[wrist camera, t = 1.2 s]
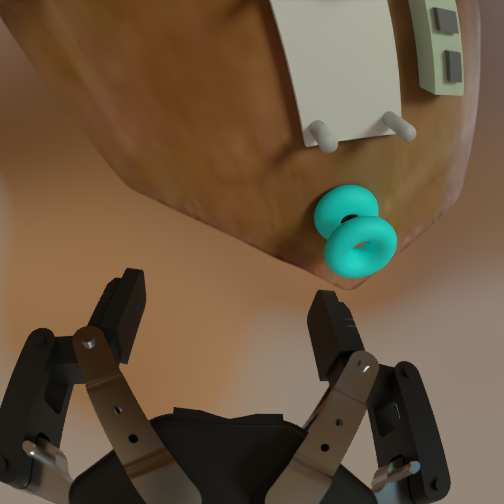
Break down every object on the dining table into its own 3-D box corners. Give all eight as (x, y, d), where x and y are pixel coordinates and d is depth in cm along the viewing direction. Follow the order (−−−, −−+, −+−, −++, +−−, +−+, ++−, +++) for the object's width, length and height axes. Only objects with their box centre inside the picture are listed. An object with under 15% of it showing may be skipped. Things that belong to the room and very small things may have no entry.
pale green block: (404, -12, 16) (425, -13, 13) (435, -6, 15) (458, -5, 12) (418, 86, 26) (438, 96, 22) (446, 86, 25) (467, 97, 22)
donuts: (411, 228, 30) (384, 280, 37) (381, 183, 37) (364, 234, 44) (337, 225, 29) (319, 283, 36) (318, 178, 36) (307, 233, 43)
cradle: (255, -38, 16) (259, -55, 11) (369, -42, 14) (395, -52, 9) (303, 142, 32) (315, 166, 28) (396, 129, 30) (420, 150, 26)
